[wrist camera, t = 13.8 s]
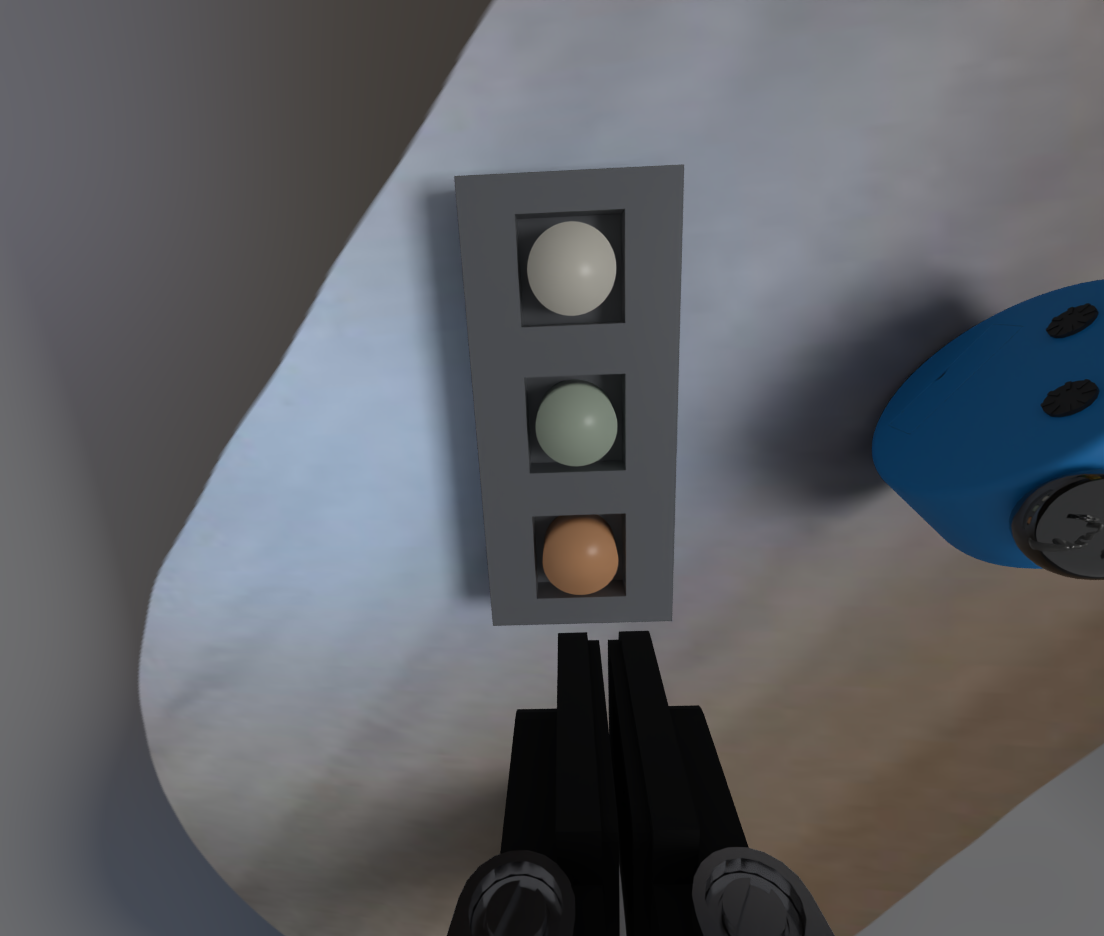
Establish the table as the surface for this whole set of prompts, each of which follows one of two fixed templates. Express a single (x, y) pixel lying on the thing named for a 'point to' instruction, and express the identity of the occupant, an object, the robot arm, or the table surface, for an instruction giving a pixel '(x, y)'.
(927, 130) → the table surface
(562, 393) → the sage button
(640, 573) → the button panel
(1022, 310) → the alarm clock
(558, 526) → the terracotta button
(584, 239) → the cream button
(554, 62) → the table surface
